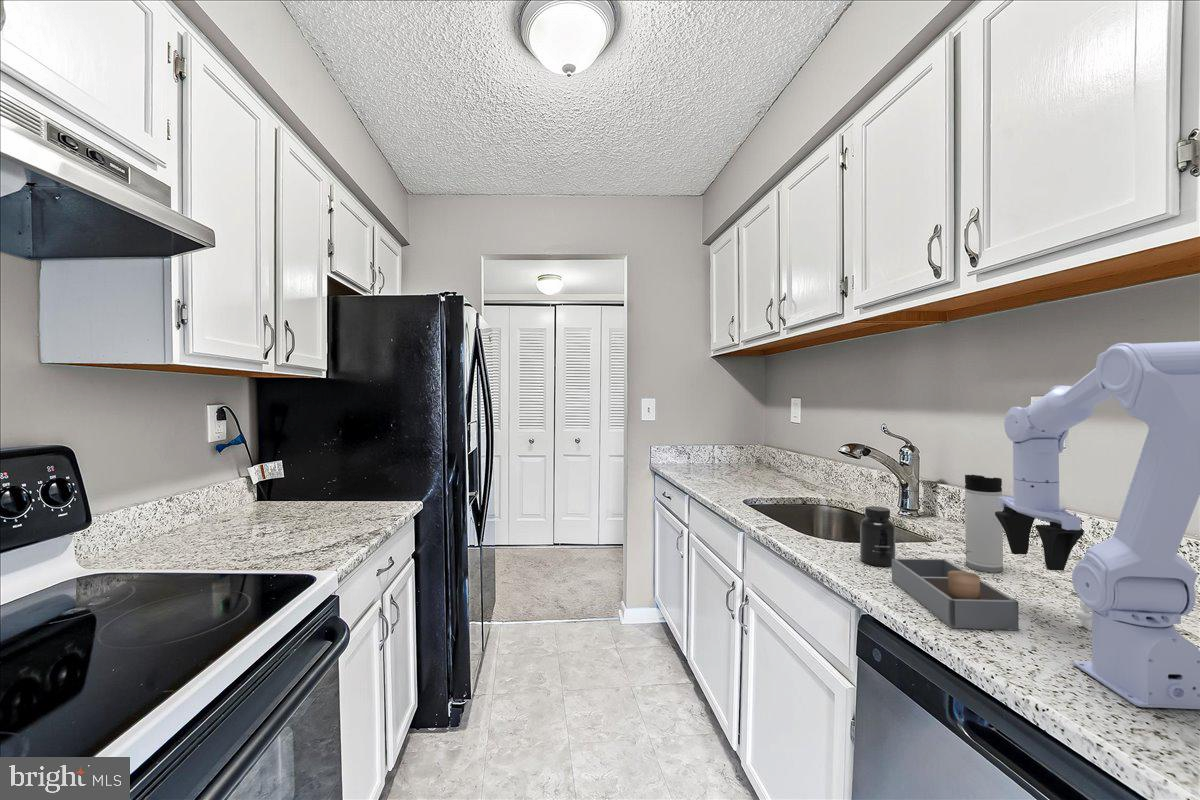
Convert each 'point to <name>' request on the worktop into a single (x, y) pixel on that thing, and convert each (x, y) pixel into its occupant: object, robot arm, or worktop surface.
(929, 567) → the organiser
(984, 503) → the travel mug
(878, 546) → the supplement bottle
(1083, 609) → the marshmallow
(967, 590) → the walnut cylinder
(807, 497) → the worktop surface
